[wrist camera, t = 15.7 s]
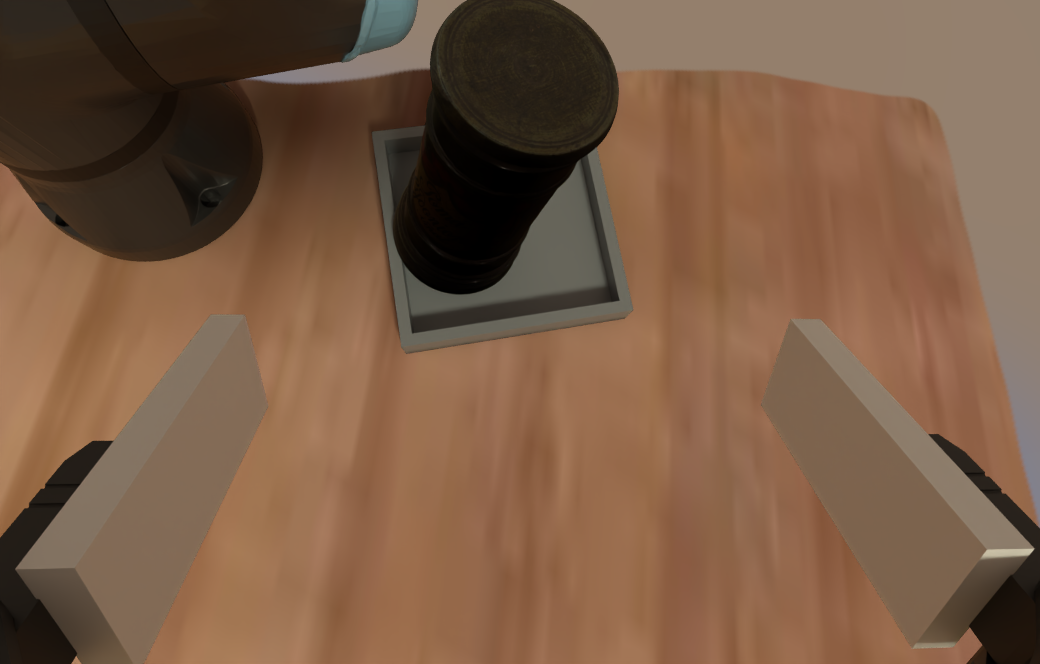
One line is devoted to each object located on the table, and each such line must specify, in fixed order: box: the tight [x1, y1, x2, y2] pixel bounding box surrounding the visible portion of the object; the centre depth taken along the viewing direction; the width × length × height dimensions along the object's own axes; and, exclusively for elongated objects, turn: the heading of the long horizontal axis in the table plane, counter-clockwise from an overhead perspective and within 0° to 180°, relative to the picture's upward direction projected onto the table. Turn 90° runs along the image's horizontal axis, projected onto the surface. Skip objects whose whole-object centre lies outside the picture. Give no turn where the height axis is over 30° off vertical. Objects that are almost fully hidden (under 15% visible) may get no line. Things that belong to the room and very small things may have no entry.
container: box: [393, 0, 619, 295], centre depth 33 cm, size 9×9×18 cm
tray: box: [372, 125, 633, 354], centre depth 42 cm, size 16×16×2 cm
